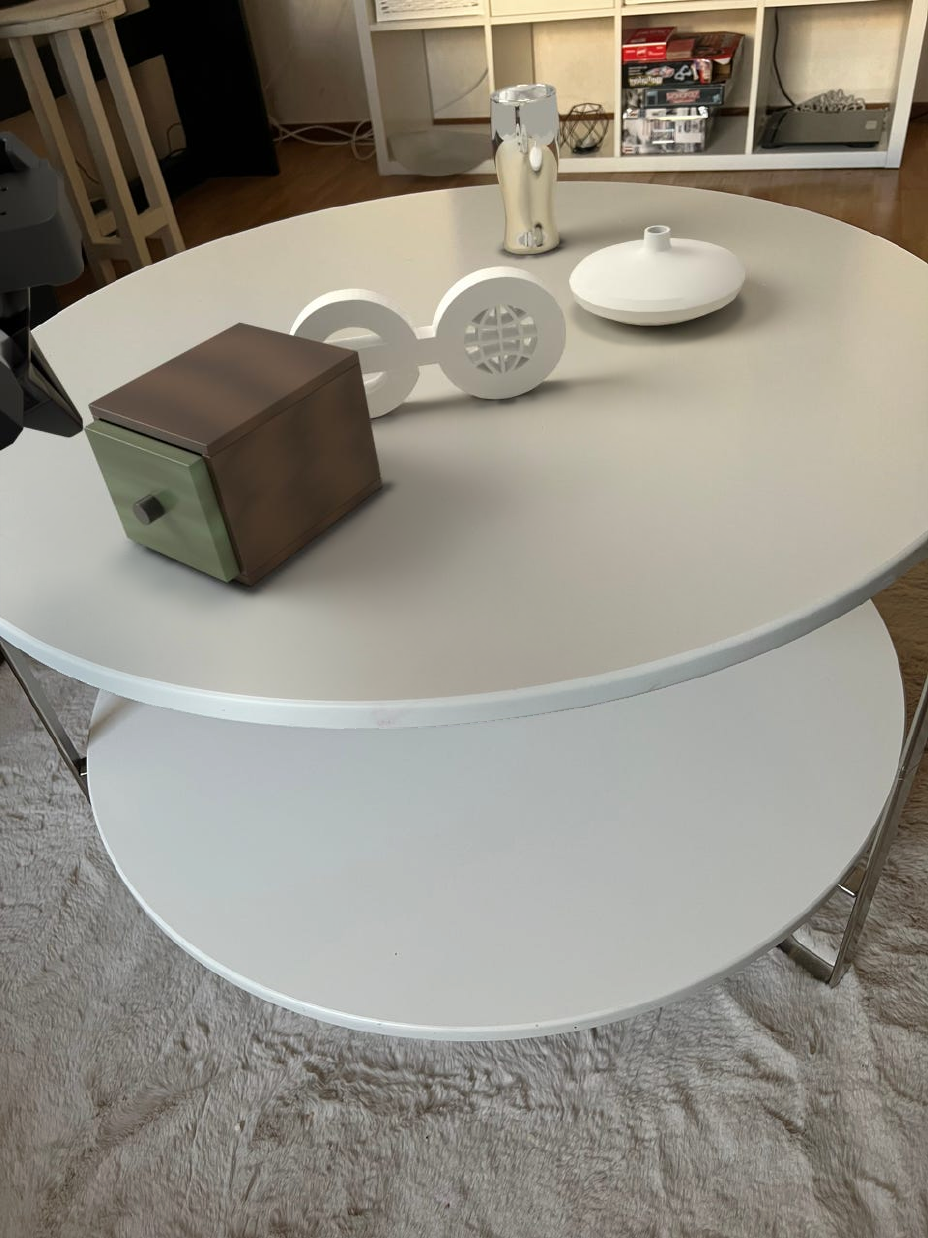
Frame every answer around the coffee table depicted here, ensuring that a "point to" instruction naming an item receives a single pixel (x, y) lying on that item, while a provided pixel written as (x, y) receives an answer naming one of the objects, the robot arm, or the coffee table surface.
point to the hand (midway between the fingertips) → (76, 429)
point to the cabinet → (262, 434)
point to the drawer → (164, 498)
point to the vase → (657, 279)
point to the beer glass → (527, 164)
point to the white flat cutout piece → (448, 336)
